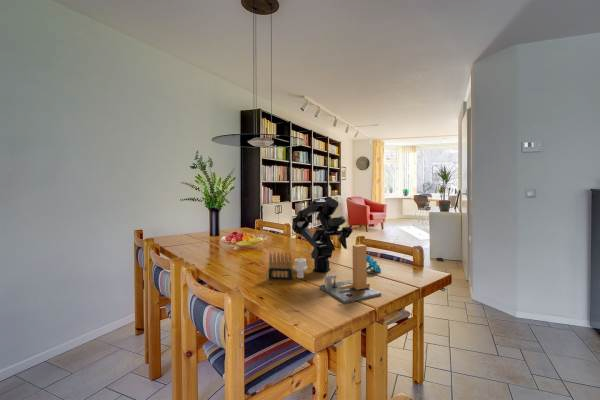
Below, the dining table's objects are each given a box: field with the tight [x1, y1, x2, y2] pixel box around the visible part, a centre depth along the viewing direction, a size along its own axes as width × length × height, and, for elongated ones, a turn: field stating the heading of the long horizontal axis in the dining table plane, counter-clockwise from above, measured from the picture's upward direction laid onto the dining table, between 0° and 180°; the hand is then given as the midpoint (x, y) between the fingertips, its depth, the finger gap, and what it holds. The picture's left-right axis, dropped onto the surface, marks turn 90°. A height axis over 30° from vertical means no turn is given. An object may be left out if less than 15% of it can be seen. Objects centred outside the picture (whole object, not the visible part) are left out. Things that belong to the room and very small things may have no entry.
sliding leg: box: [340, 243, 371, 290], centre depth 113 cm, size 5×12×16 cm, turn 116°
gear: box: [367, 254, 382, 273], centre depth 140 cm, size 11×6×10 cm
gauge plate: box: [319, 274, 382, 304], centre depth 113 cm, size 18×16×6 cm
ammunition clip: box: [268, 252, 294, 281], centre depth 129 cm, size 11×2×12 cm, turn 82°
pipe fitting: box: [292, 257, 309, 279], centre depth 132 cm, size 6×7×8 cm
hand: (340, 249), depth 127 cm, fingers open, 6 cm apart
